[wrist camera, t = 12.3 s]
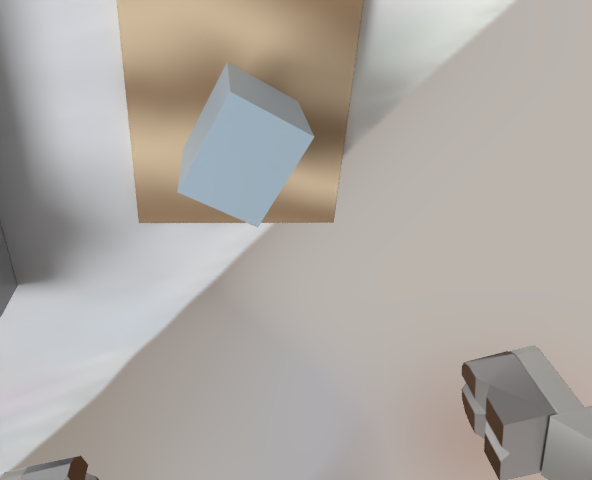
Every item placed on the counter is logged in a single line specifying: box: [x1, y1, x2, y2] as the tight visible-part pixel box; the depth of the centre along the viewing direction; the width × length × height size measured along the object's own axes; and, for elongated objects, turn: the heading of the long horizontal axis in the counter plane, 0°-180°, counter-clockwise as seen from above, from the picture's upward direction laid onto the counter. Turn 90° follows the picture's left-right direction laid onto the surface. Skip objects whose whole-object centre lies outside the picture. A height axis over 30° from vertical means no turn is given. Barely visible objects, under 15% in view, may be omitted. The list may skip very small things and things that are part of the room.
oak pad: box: [117, 0, 364, 223], centre depth 28 cm, size 14×12×1 cm
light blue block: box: [178, 62, 314, 227], centre depth 25 cm, size 5×4×7 cm
